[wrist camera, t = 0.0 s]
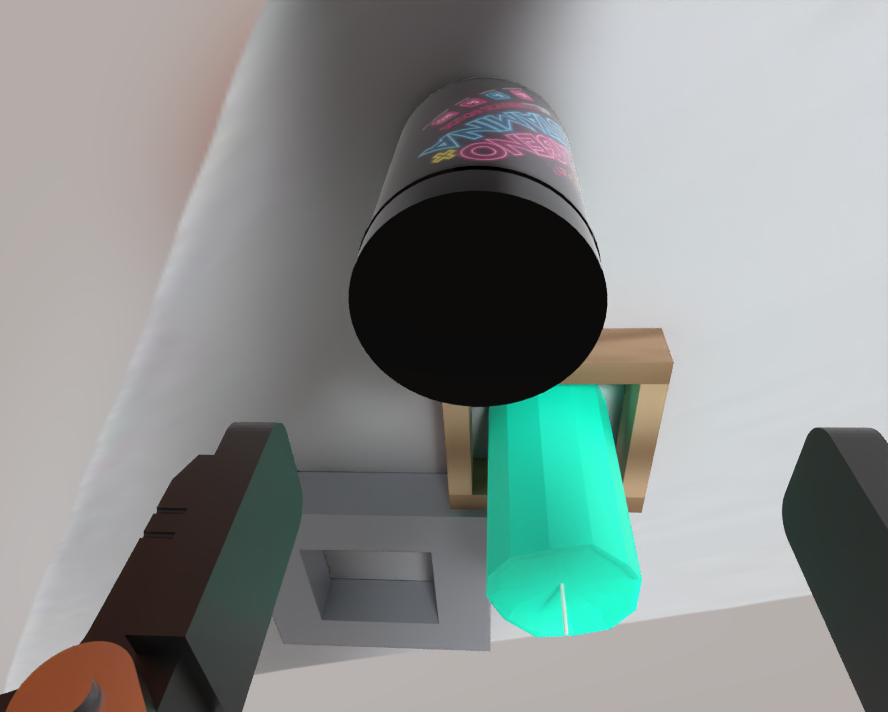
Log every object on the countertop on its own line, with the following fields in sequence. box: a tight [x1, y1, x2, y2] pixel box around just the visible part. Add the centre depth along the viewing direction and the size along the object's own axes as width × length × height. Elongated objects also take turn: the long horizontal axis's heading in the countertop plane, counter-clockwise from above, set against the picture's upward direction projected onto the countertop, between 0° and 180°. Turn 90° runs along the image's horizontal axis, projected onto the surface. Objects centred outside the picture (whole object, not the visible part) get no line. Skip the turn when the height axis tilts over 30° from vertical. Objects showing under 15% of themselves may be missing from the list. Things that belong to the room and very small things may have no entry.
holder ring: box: [442, 328, 674, 513], centre depth 31 cm, size 10×10×2 cm
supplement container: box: [349, 77, 607, 407], centre depth 21 cm, size 7×7×10 cm
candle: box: [486, 384, 642, 637], centre depth 28 cm, size 6×6×12 cm
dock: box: [272, 472, 491, 651], centre depth 39 cm, size 14×14×4 cm
